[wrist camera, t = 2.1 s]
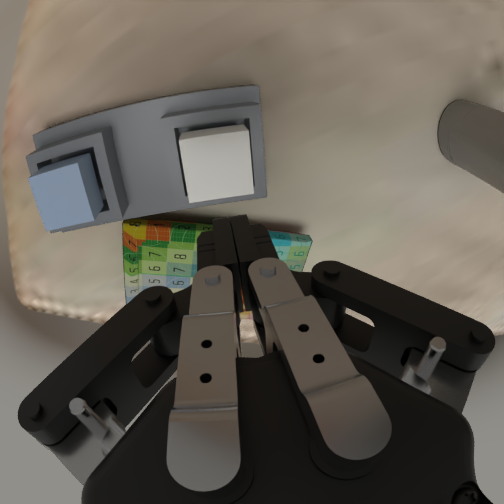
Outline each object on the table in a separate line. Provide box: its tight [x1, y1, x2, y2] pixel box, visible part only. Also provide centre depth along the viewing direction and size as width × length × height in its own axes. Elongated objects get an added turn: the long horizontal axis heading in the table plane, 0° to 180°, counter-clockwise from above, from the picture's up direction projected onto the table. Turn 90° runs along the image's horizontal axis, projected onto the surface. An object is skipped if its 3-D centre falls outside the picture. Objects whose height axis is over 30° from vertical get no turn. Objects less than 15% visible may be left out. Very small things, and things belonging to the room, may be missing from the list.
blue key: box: [28, 153, 104, 231], centre depth 22 cm, size 5×5×3 cm
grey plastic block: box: [26, 85, 267, 233], centre depth 26 cm, size 22×11×6 cm, turn 94°
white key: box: [179, 124, 254, 203], centre depth 23 cm, size 5×5×3 cm
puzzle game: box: [122, 218, 312, 319], centre depth 35 cm, size 12×5×20 cm
